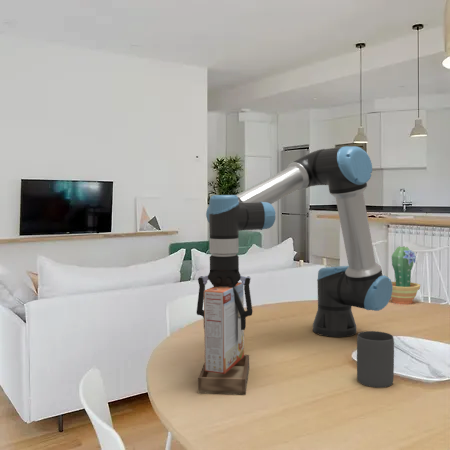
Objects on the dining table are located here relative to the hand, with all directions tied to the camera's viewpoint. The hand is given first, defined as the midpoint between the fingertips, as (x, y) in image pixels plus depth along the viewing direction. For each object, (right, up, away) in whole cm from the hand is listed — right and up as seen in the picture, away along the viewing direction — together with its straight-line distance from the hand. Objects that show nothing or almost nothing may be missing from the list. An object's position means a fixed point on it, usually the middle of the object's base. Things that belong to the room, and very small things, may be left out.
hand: (224, 341), depth 130 cm
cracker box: (0, -6, 0) cm, 6 cm away
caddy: (0, -10, +1) cm, 10 cm away
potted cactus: (+80, -4, +93) cm, 123 cm away
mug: (+39, -10, +1) cm, 41 cm away
